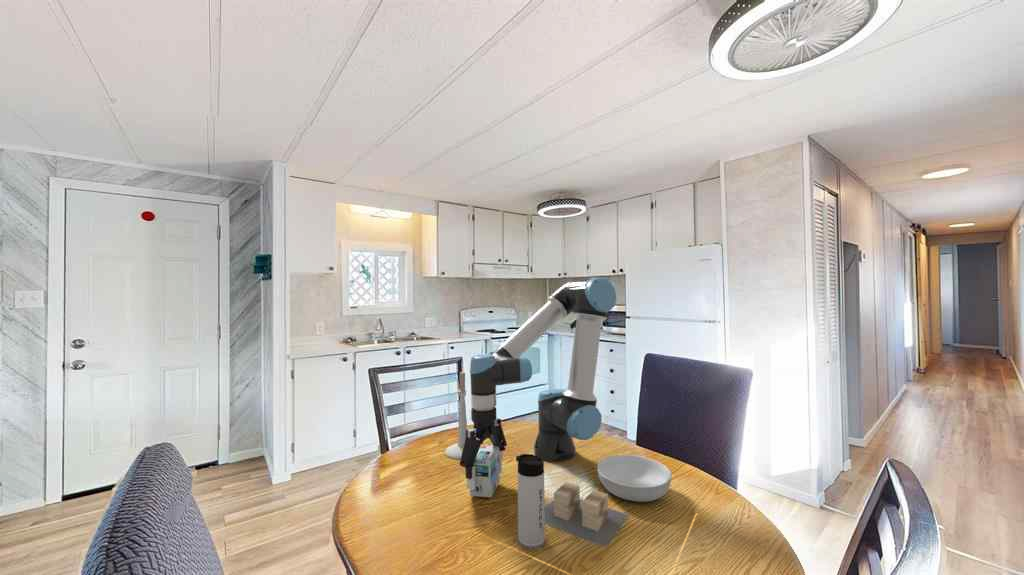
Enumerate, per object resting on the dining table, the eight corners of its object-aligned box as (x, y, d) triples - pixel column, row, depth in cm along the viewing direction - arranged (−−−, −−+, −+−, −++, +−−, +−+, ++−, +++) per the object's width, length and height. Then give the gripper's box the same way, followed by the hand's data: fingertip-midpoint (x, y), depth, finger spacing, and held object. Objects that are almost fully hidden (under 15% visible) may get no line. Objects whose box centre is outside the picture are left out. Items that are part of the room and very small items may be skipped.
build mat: (561, 494, 113) (561, 493, 113) (629, 516, 102) (629, 514, 102) (531, 520, 100) (531, 518, 100) (606, 548, 89) (606, 547, 89)
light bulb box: (491, 498, 110) (491, 460, 110) (469, 496, 111) (468, 458, 112) (500, 480, 121) (499, 445, 121) (479, 478, 122) (479, 444, 122)
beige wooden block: (566, 503, 107) (566, 481, 107) (579, 508, 105) (579, 485, 105) (554, 515, 102) (553, 492, 102) (567, 520, 99) (567, 496, 99)
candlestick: (482, 457, 140) (481, 373, 141) (446, 460, 137) (446, 375, 138) (477, 444, 153) (476, 367, 153) (444, 447, 150) (444, 369, 150)
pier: (593, 512, 103) (593, 490, 103) (608, 517, 100) (607, 494, 101) (582, 525, 97) (581, 501, 97) (597, 531, 95) (597, 506, 95)
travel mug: (515, 535, 94) (514, 452, 94) (542, 533, 95) (541, 450, 95) (518, 552, 88) (517, 463, 88) (547, 550, 88) (546, 461, 89)
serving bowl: (583, 494, 114) (583, 470, 114) (618, 470, 129) (617, 449, 129) (653, 521, 99) (653, 494, 100) (683, 491, 115) (682, 467, 115)
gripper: (498, 396, 128) (499, 462, 128) (445, 415, 109) (447, 493, 108) (516, 399, 124) (518, 467, 124) (465, 420, 104) (467, 501, 104)
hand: (485, 480), depth 116 cm, fingers closed on light bulb box, 12 cm apart
